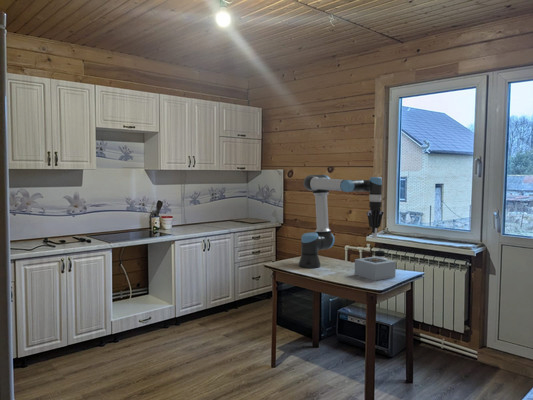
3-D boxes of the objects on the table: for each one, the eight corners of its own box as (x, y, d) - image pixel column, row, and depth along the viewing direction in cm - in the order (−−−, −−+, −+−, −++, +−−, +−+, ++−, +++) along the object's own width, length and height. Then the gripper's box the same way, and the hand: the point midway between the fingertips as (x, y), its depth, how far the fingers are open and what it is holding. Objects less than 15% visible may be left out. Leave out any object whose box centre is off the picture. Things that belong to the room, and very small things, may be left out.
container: (387, 270, 287) (388, 251, 286) (377, 271, 284) (378, 251, 284) (381, 267, 294) (381, 249, 293) (371, 268, 292) (371, 249, 291)
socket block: (354, 274, 274) (354, 258, 273) (374, 271, 283) (374, 256, 283) (375, 280, 259) (375, 263, 258) (395, 277, 268) (395, 260, 267)
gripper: (372, 201, 262) (371, 239, 263) (387, 201, 268) (386, 238, 270) (363, 201, 268) (362, 237, 270) (378, 200, 275) (377, 236, 276)
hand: (374, 237), depth 270 cm, fingers closed
